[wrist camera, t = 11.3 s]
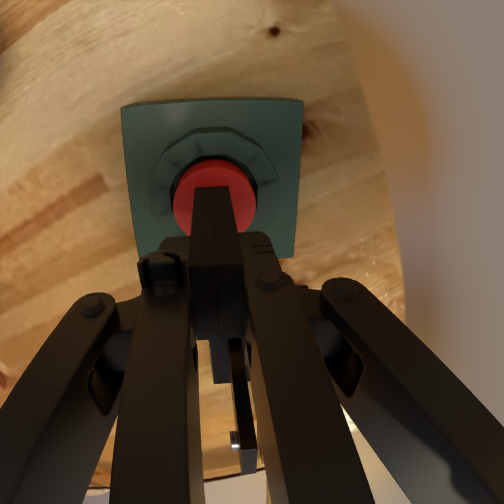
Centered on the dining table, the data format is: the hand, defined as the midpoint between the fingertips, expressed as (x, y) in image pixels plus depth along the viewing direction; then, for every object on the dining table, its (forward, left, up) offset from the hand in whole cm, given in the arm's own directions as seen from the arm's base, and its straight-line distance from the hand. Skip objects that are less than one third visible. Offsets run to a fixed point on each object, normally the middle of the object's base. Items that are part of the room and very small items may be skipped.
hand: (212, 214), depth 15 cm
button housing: (0, 0, -6) cm, 6 cm away
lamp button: (0, 0, -3) cm, 3 cm away
